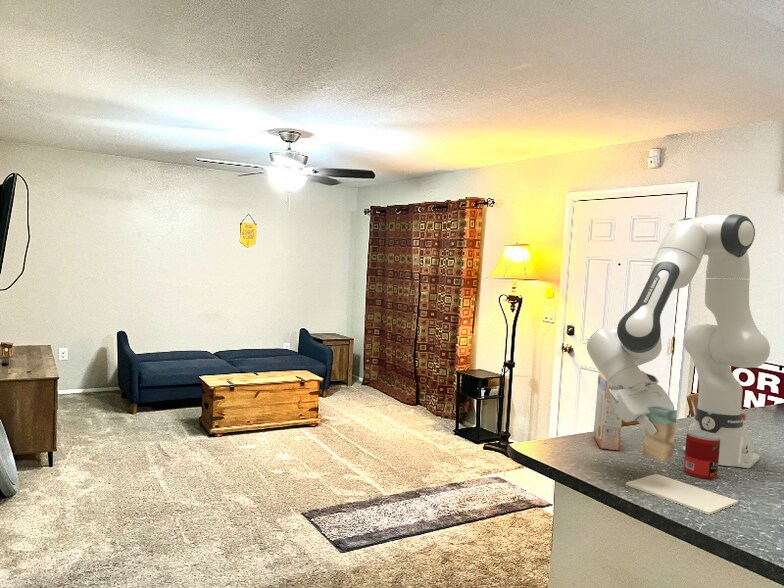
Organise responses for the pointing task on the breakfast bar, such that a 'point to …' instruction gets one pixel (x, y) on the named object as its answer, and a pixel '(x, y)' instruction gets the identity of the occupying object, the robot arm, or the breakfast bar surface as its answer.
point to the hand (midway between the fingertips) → (662, 432)
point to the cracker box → (606, 418)
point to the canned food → (702, 454)
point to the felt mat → (682, 493)
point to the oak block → (660, 434)
